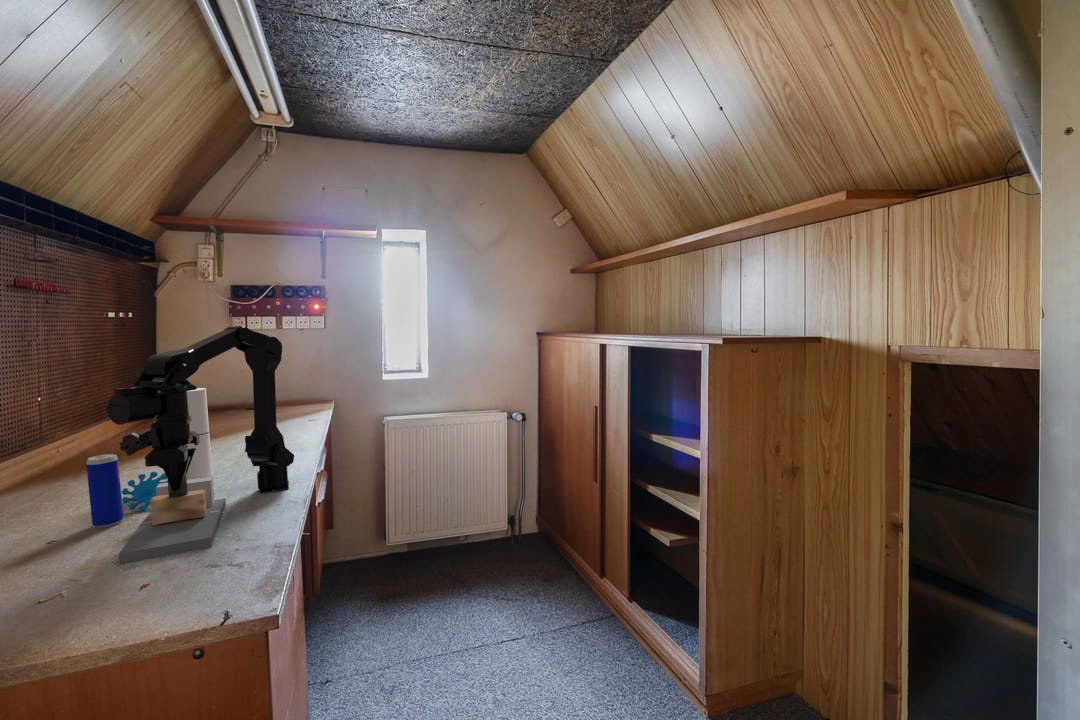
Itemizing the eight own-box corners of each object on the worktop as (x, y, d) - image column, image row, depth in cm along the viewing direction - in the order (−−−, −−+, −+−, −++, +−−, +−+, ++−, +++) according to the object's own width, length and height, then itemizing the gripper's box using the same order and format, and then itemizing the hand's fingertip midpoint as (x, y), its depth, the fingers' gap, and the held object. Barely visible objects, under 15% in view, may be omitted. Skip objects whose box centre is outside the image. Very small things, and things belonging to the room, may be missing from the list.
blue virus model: (114, 509, 112) (128, 470, 118) (119, 520, 116) (133, 482, 122) (172, 508, 116) (183, 470, 122) (176, 519, 120) (186, 481, 126)
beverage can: (129, 520, 109) (123, 454, 108) (102, 530, 105) (95, 460, 103) (114, 517, 111) (107, 452, 110) (86, 527, 106) (80, 459, 105)
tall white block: (189, 482, 135) (181, 392, 133) (177, 478, 139) (170, 390, 137) (217, 475, 141) (210, 388, 139) (205, 471, 145) (198, 387, 143)
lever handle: (206, 511, 108) (203, 462, 107) (204, 516, 105) (200, 465, 104) (155, 519, 103) (151, 468, 103) (151, 525, 101) (147, 472, 100)
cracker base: (226, 506, 117) (223, 473, 116) (211, 547, 95) (208, 507, 95) (152, 518, 111) (149, 483, 110) (119, 564, 89) (115, 521, 89)
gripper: (135, 411, 107) (141, 481, 108) (107, 427, 90) (114, 510, 92) (197, 406, 112) (202, 473, 113) (181, 420, 95) (187, 499, 97)
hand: (177, 487), depth 104 cm, fingers closed on lever handle, 3 cm apart
